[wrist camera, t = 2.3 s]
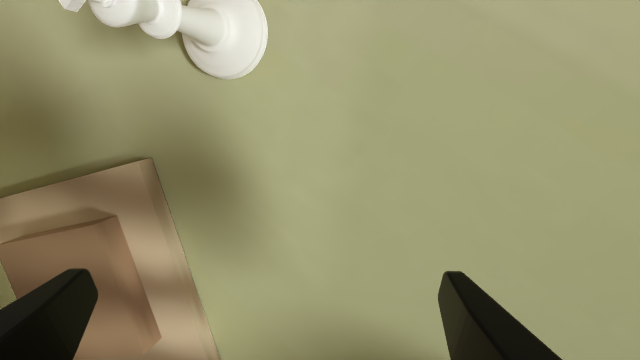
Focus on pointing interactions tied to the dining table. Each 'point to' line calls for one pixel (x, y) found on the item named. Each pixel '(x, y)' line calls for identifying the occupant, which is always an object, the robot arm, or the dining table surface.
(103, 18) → the chess piece
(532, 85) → the dining table surface
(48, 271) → the pedestal
